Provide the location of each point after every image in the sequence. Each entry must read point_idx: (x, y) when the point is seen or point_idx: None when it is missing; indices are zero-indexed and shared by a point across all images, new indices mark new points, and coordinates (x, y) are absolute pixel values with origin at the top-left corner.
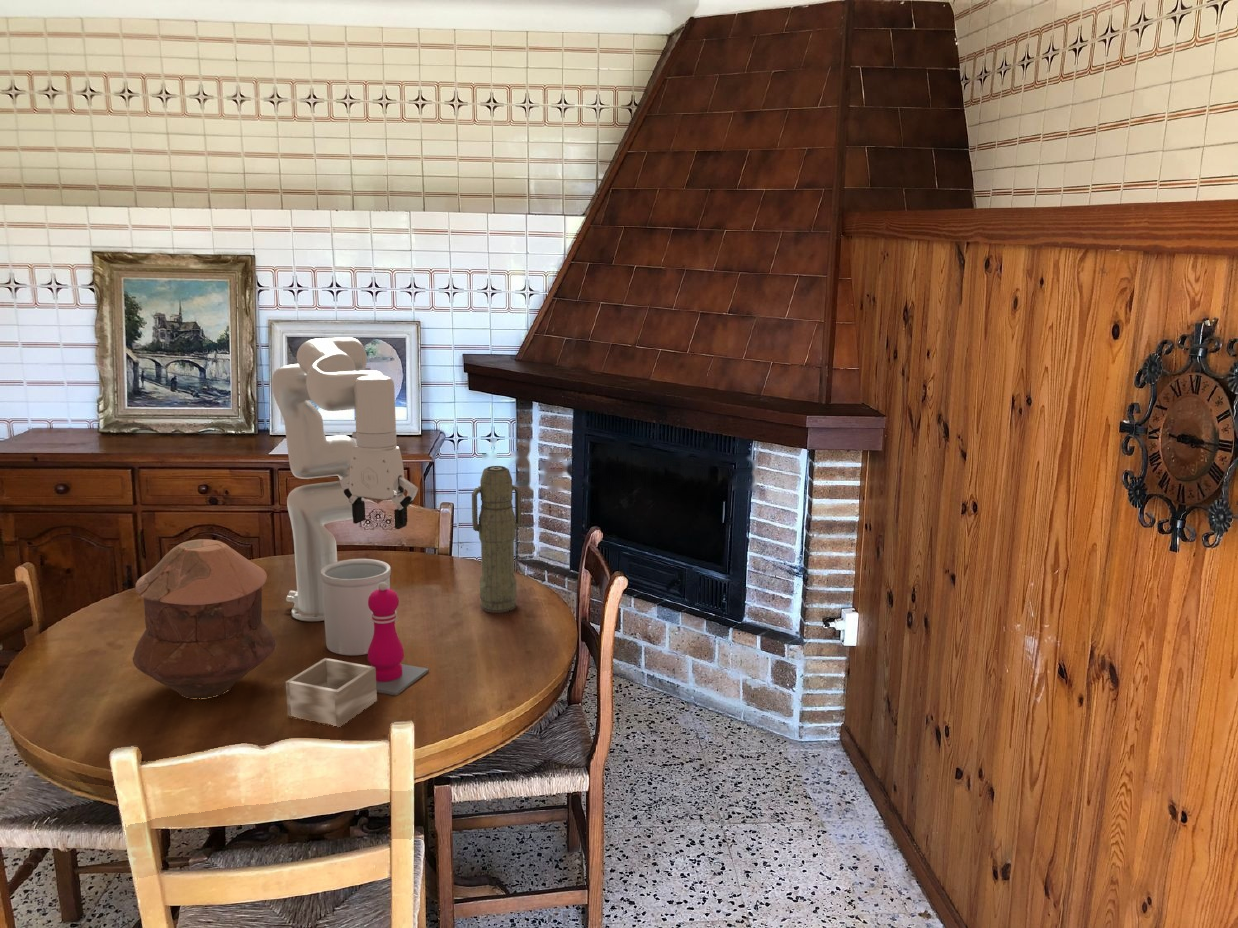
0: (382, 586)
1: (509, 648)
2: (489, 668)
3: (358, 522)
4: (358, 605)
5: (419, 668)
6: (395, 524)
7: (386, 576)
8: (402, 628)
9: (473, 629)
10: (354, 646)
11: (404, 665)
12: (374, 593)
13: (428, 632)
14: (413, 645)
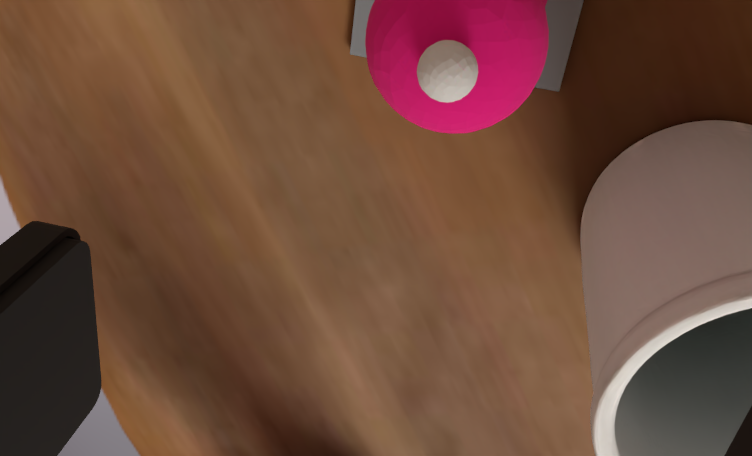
0: (436, 47)
1: (187, 258)
2: (173, 113)
3: (747, 416)
4: (694, 225)
5: None
6: (30, 255)
7: (593, 394)
8: (578, 351)
9: (350, 365)
10: (681, 137)
11: None
12: (492, 15)
13: (479, 333)
14: (489, 237)
